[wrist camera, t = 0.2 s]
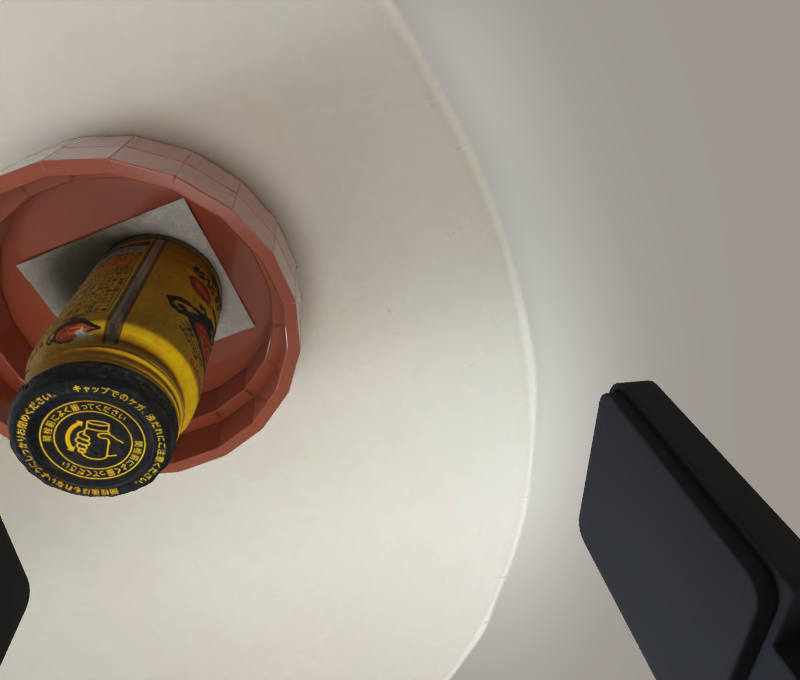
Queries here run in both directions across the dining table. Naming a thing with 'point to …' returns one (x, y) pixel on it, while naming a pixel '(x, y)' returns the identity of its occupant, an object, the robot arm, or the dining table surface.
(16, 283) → the bowl
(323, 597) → the dining table surface
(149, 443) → the condiment
